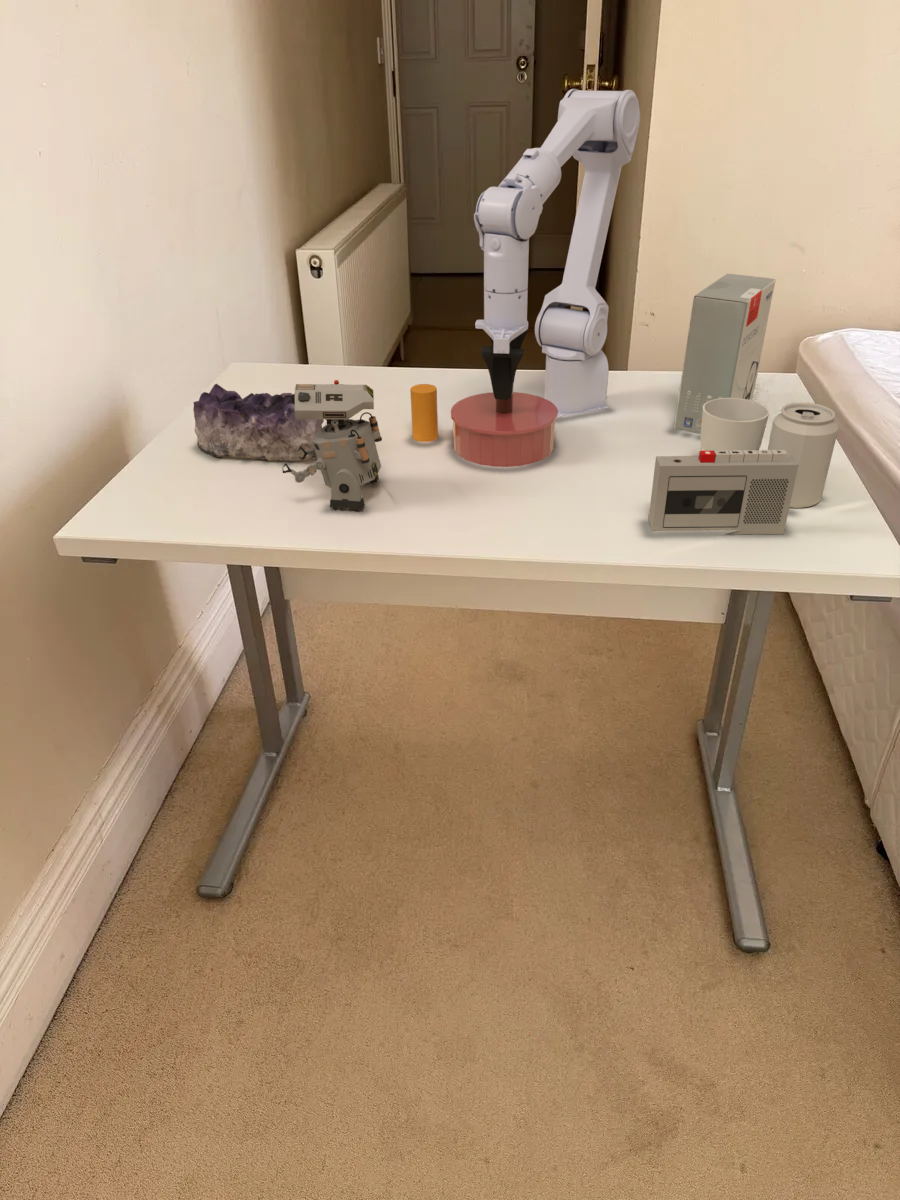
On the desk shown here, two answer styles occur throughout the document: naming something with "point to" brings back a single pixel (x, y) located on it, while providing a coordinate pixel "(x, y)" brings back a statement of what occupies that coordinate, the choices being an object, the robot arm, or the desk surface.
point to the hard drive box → (723, 345)
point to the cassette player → (723, 491)
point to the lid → (504, 413)
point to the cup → (733, 424)
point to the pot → (503, 446)
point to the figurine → (340, 439)
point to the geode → (252, 426)
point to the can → (806, 447)
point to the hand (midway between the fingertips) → (504, 388)
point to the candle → (424, 412)
